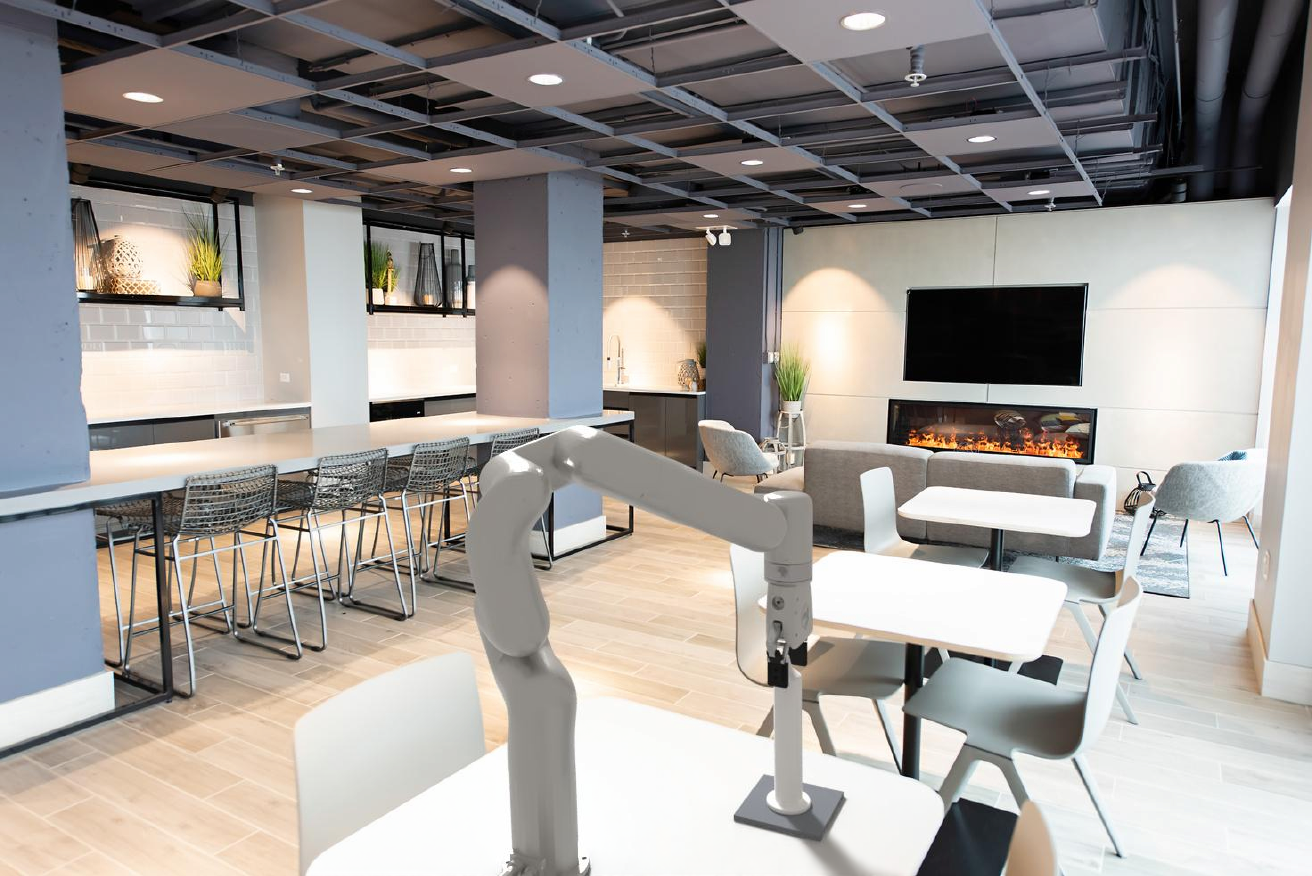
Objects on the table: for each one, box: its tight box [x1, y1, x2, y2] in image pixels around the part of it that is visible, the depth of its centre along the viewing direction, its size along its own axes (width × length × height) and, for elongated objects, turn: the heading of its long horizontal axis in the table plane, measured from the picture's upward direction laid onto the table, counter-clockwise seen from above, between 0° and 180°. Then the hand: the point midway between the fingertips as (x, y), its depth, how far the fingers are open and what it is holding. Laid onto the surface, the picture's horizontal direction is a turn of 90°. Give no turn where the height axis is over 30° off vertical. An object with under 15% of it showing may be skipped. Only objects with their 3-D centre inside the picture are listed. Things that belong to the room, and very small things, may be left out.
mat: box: [733, 773, 845, 842], centre depth 138 cm, size 14×14×1 cm
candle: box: [767, 655, 811, 815], centre depth 137 cm, size 7×7×25 cm
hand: (788, 675), depth 136 cm, fingers open, 9 cm apart
